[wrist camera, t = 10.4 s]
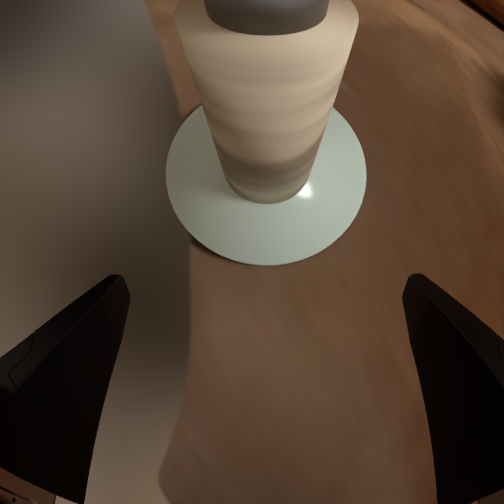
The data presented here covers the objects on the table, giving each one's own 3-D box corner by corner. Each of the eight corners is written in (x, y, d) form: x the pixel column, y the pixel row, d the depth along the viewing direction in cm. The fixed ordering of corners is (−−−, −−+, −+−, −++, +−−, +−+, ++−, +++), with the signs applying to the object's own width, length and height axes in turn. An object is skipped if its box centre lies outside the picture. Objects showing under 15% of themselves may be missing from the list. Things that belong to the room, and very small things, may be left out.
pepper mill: (314, 202, 18) (404, 10, 4) (223, 206, 18) (138, 13, 4) (305, 125, 19) (342, -68, 5) (222, 129, 19) (175, -64, 5)
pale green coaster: (336, 292, 18) (340, 292, 17) (141, 231, 19) (136, 228, 18) (374, 119, 20) (377, 114, 19) (209, 77, 21) (208, 71, 20)
